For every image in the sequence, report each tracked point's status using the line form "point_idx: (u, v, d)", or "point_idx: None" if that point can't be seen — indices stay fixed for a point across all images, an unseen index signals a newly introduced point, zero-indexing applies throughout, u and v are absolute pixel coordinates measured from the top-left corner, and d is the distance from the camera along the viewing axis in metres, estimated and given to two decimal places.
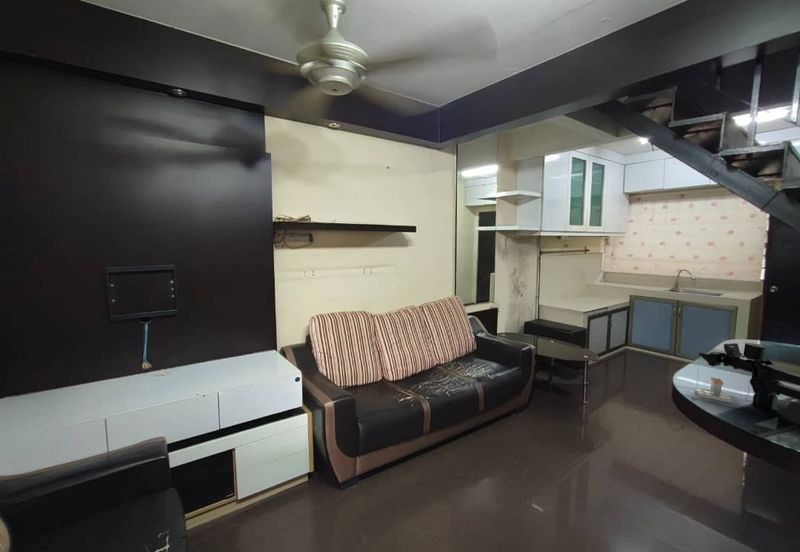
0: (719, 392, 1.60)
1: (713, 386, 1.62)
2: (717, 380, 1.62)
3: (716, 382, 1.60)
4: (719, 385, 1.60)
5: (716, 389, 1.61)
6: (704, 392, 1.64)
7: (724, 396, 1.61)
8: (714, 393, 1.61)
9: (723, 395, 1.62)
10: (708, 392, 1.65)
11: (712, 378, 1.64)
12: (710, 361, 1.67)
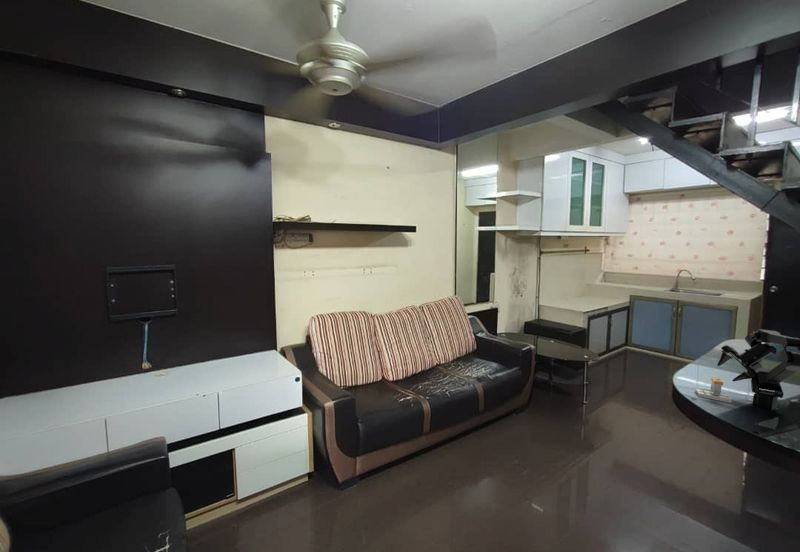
0: (719, 392, 1.60)
1: (713, 386, 1.62)
2: (717, 380, 1.62)
3: (716, 382, 1.60)
4: (719, 385, 1.60)
5: (716, 389, 1.61)
6: (704, 392, 1.64)
7: (724, 396, 1.61)
8: (714, 393, 1.61)
9: (723, 395, 1.62)
10: (708, 392, 1.65)
11: (712, 378, 1.64)
12: None
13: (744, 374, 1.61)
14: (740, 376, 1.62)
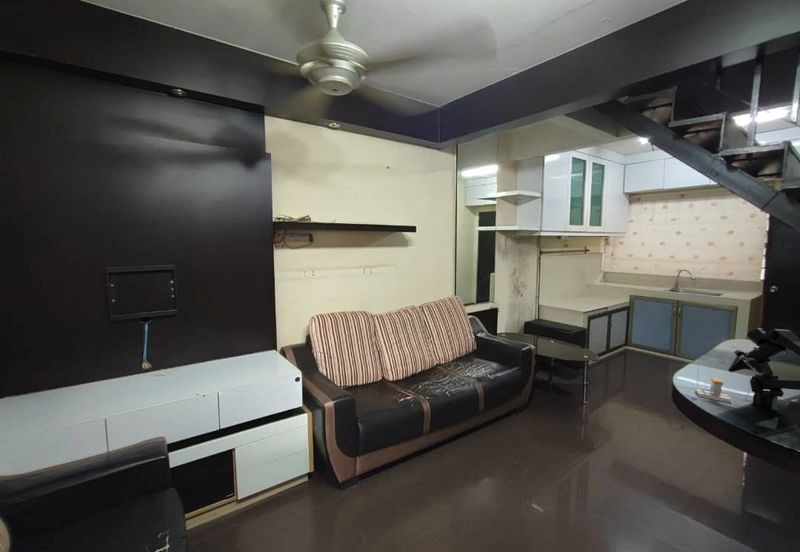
0: (719, 392, 1.60)
1: (713, 386, 1.62)
2: (717, 380, 1.62)
3: (716, 382, 1.60)
4: (719, 385, 1.60)
5: (716, 389, 1.61)
6: (704, 392, 1.64)
7: (724, 396, 1.61)
8: (714, 393, 1.61)
9: (723, 395, 1.62)
10: (708, 392, 1.65)
11: (712, 378, 1.64)
12: None
13: (739, 359, 1.57)
14: (735, 363, 1.58)
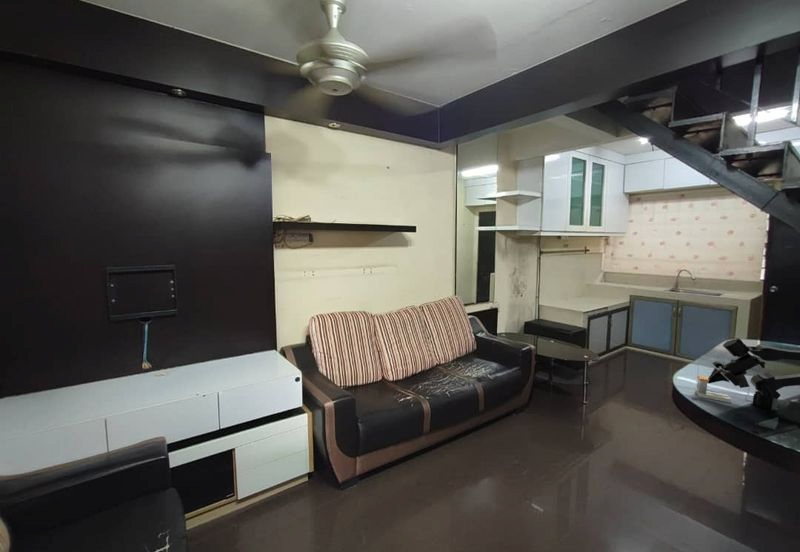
0: (705, 389, 1.63)
1: (699, 383, 1.65)
2: (703, 378, 1.64)
3: (701, 379, 1.63)
4: (705, 382, 1.63)
5: (702, 386, 1.63)
6: None
7: (724, 396, 1.61)
8: (700, 390, 1.64)
9: (723, 395, 1.62)
10: (708, 392, 1.65)
11: (698, 376, 1.66)
12: None
13: (716, 371, 1.61)
14: (713, 375, 1.62)
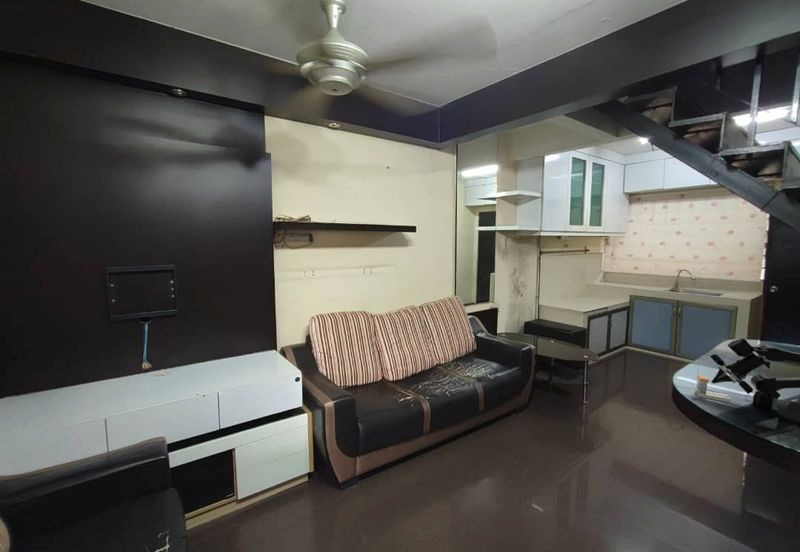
0: (705, 389, 1.63)
1: (699, 383, 1.65)
2: (703, 378, 1.64)
3: (701, 379, 1.63)
4: (705, 382, 1.63)
5: (702, 386, 1.63)
6: None
7: (724, 396, 1.61)
8: (700, 390, 1.64)
9: (723, 395, 1.62)
10: (708, 392, 1.65)
11: (698, 376, 1.66)
12: None
13: (727, 377, 1.58)
14: (722, 379, 1.60)
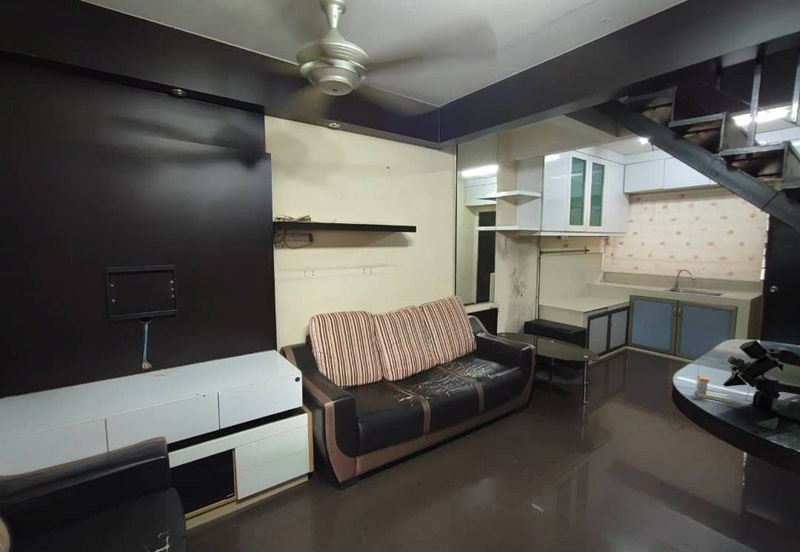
0: (705, 389, 1.63)
1: (699, 383, 1.65)
2: (703, 378, 1.64)
3: (701, 379, 1.63)
4: (705, 382, 1.63)
5: (702, 386, 1.63)
6: None
7: (724, 396, 1.61)
8: (700, 390, 1.64)
9: (723, 395, 1.62)
10: (708, 392, 1.65)
11: (698, 376, 1.66)
12: (750, 382, 1.50)
13: None
14: None
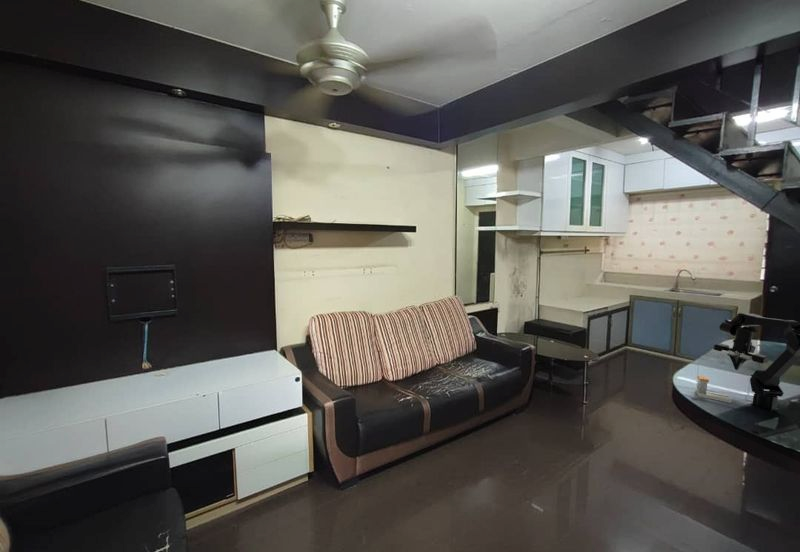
0: (705, 389, 1.63)
1: (699, 383, 1.65)
2: (703, 378, 1.64)
3: (701, 379, 1.63)
4: (705, 382, 1.63)
5: (702, 386, 1.63)
6: None
7: (724, 396, 1.61)
8: (700, 390, 1.64)
9: (723, 395, 1.62)
10: (708, 392, 1.65)
11: (698, 376, 1.66)
12: None
13: (740, 359, 1.65)
14: (739, 363, 1.66)
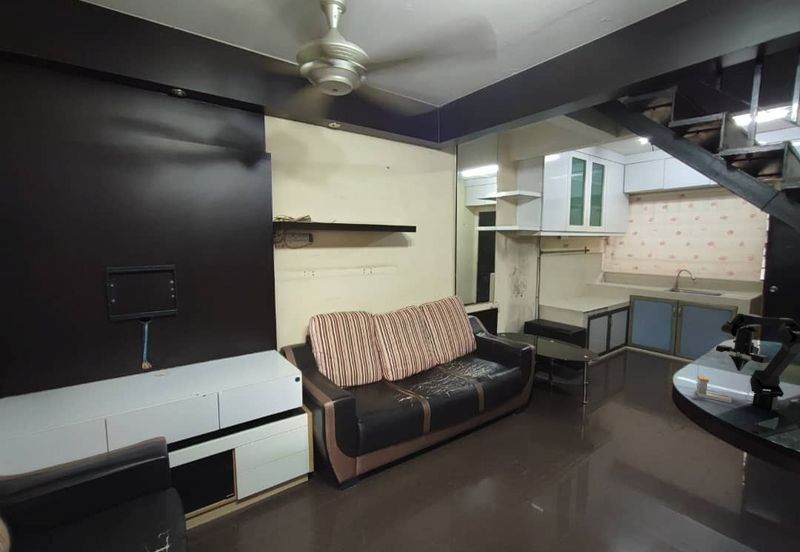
0: (705, 389, 1.63)
1: (699, 383, 1.65)
2: (703, 378, 1.64)
3: (701, 379, 1.63)
4: (705, 382, 1.63)
5: (702, 386, 1.63)
6: None
7: (724, 396, 1.61)
8: (700, 390, 1.64)
9: (723, 395, 1.62)
10: (708, 392, 1.65)
11: (698, 376, 1.66)
12: None
13: (741, 360, 1.66)
14: (740, 363, 1.67)
